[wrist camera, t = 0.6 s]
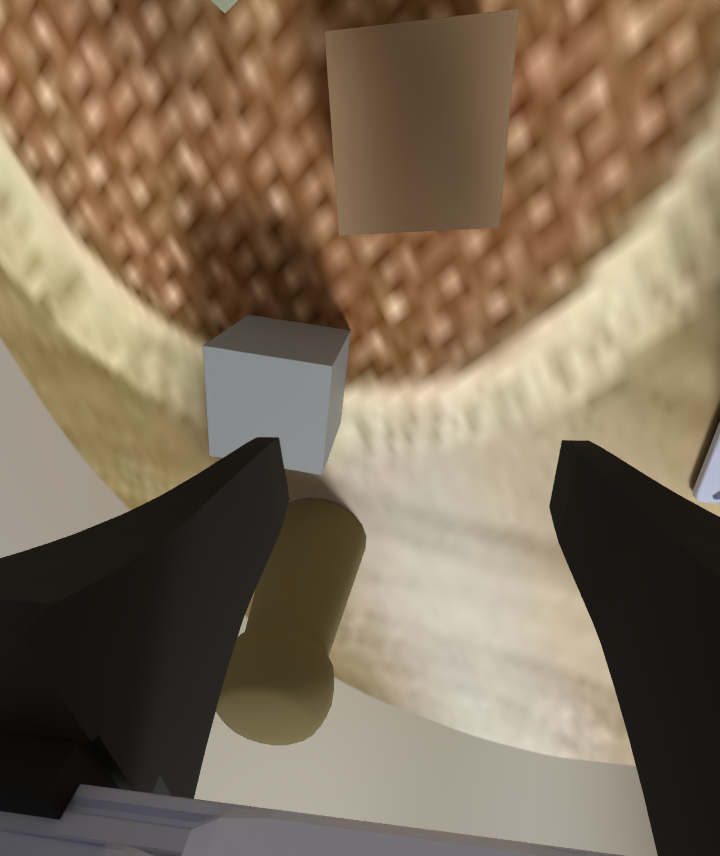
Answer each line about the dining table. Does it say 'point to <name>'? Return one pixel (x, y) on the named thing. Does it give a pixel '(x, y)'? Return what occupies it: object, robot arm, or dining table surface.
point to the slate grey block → (276, 388)
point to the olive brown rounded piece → (293, 627)
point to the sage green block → (224, 4)
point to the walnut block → (421, 122)
